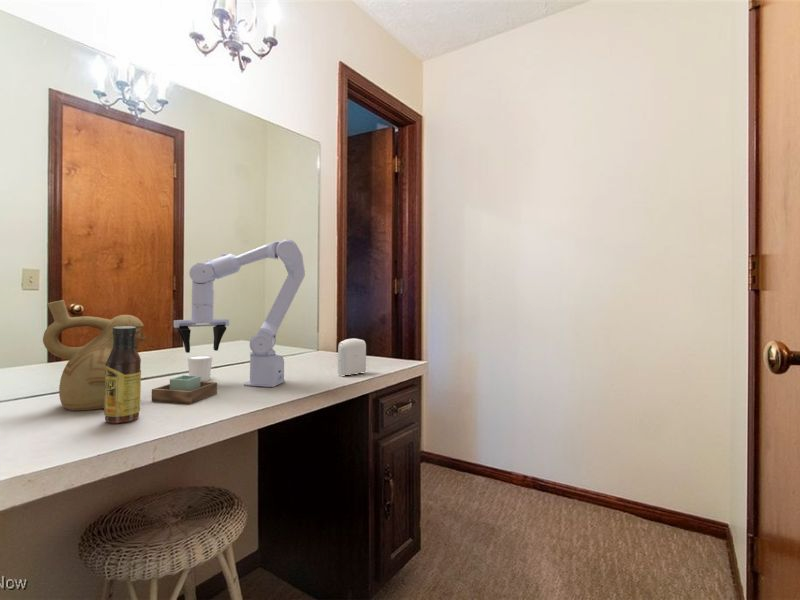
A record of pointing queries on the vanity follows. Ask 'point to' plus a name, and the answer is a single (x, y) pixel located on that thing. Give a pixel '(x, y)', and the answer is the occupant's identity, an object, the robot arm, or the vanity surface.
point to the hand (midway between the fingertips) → (202, 351)
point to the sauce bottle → (122, 378)
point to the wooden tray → (184, 393)
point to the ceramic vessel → (85, 356)
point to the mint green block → (185, 383)
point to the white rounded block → (200, 366)
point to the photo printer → (351, 356)
